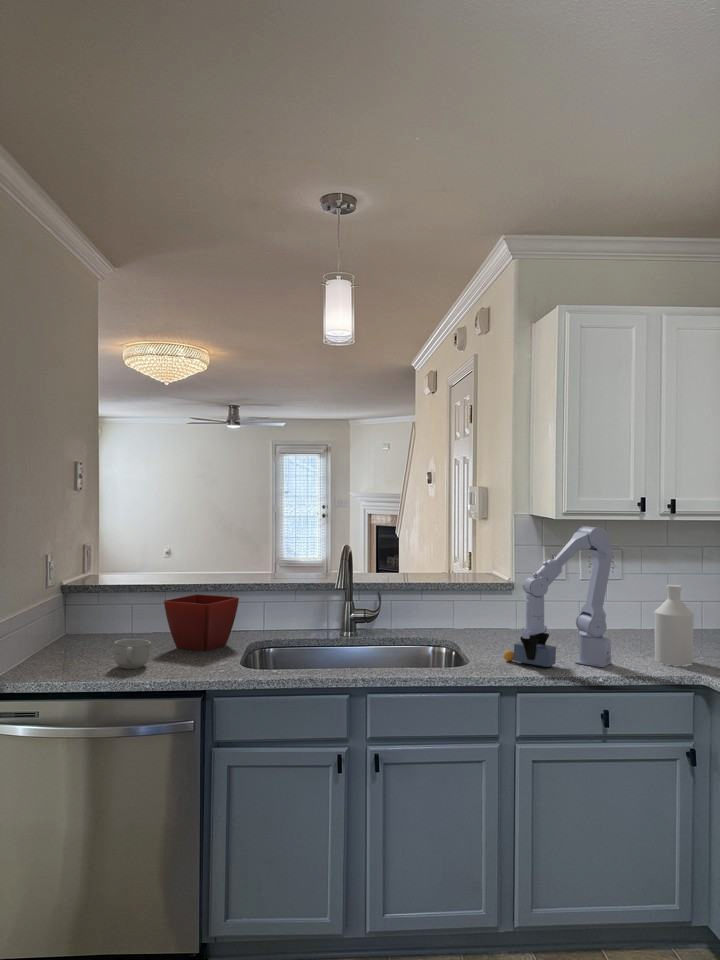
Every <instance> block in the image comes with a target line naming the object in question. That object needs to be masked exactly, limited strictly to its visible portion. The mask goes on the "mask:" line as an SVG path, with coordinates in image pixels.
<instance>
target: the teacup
mask: <svg viewBox="0 0 720 960" xmlns="http://www.w3.org/2000/svg"><path fill="white" fill-rule="evenodd" d="M151 644H152V643H151V641H150V640H148V639H141V638H124V639H123V638H122V639H118V640H116V641H114V653H113V654H114V657H113V659H114V661H115V663H116V664H117V665H118V666H119V668H122V669H125V670H126V669H127V670H128V669H129V670H130V669H131V670H134V669H140V667H141V668H142V667H144V665H146V664H147V663H148V662H149V659H150V652H151Z"/></svg>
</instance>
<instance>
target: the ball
mask: <svg viewBox="0 0 720 960" xmlns="http://www.w3.org/2000/svg"><path fill="white" fill-rule="evenodd" d="M503 659H504V660H505V661H506V662H509V661H510V662H513V661H514V650H510V649H508V650H505V652H504V653H503Z"/></svg>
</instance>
